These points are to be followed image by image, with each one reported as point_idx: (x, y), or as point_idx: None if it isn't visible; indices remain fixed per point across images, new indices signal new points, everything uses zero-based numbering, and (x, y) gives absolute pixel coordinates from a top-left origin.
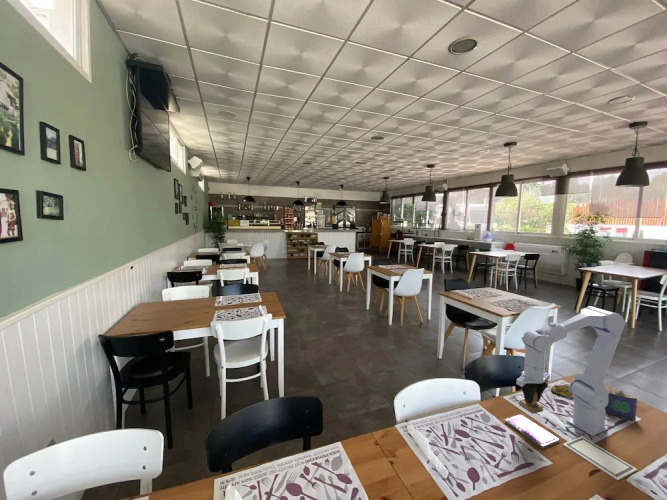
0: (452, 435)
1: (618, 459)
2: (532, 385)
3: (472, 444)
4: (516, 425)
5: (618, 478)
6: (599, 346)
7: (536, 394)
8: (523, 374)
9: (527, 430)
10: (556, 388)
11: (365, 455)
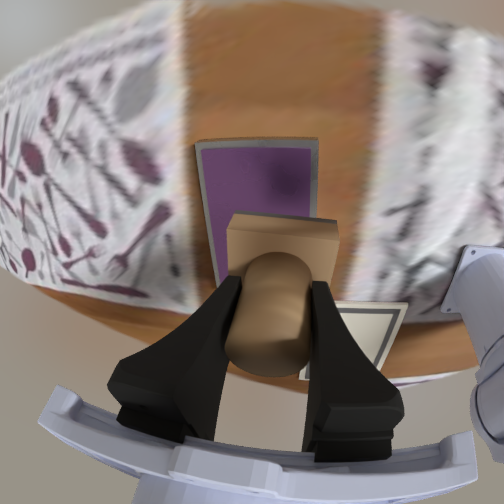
0: (14, 161)
1: (375, 366)
2: (201, 437)
3: (41, 201)
4: (207, 196)
5: (302, 379)
6: None
7: (266, 372)
8: (149, 472)
9: None
10: None
11: None
